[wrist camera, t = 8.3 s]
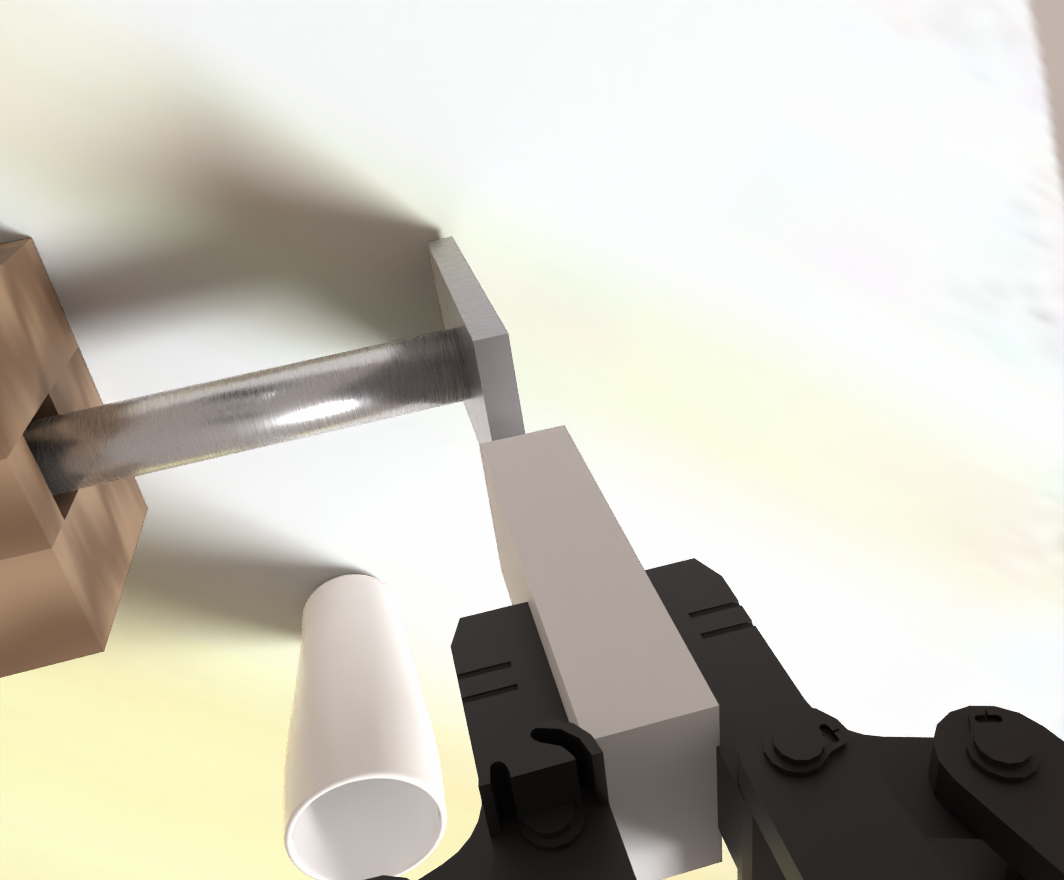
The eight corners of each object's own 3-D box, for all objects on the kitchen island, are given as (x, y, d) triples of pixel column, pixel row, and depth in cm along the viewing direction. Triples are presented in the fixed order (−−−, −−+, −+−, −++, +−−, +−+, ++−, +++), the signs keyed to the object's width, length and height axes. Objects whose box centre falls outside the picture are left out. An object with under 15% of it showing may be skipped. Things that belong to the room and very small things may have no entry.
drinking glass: (359, 674, 51) (377, 908, 38) (262, 621, 48) (246, 855, 35) (437, 596, 50) (482, 811, 37) (342, 536, 47) (356, 748, 34)
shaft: (-105, 350, 37) (-283, 508, 26) (452, 236, 40) (508, 333, 29) (-30, 488, 41) (-160, 681, 29) (478, 373, 44) (537, 507, 32)
